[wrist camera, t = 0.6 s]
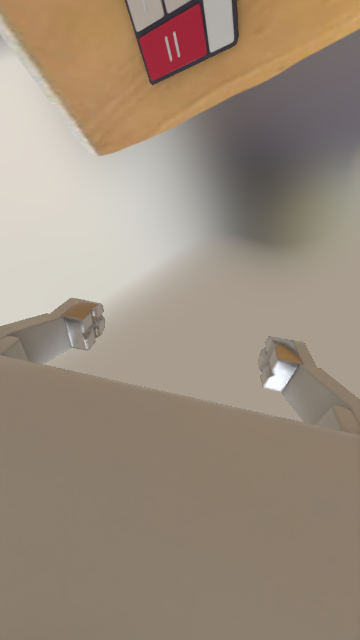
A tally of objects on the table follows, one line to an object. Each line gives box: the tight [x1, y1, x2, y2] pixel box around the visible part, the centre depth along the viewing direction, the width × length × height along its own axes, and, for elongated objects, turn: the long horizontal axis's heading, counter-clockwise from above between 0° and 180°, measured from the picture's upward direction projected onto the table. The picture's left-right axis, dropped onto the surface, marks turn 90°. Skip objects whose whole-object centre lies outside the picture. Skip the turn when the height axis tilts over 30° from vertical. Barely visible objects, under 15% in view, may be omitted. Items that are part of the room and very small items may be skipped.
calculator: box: [125, 0, 239, 85], centre depth 30 cm, size 11×4×15 cm
